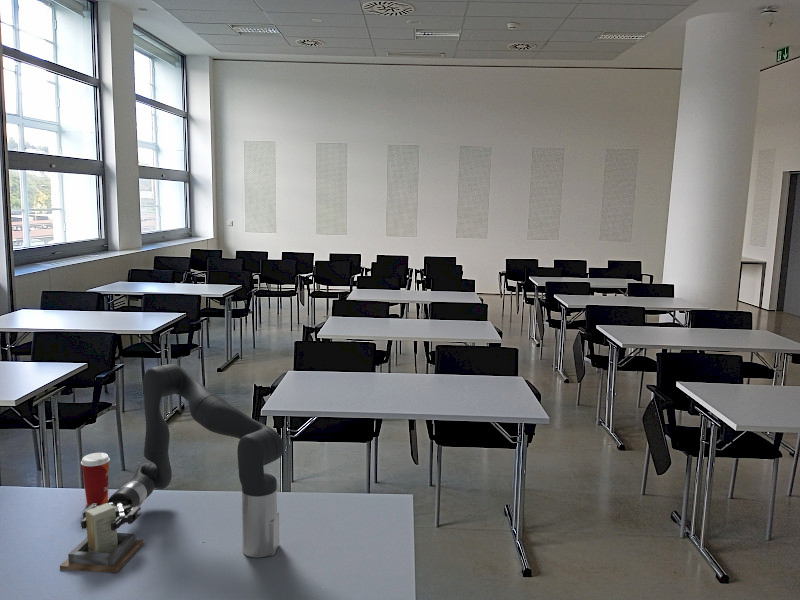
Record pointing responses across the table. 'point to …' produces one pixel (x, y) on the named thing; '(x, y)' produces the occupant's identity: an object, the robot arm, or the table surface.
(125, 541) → the socket stand
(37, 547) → the table surface
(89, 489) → the coffee cup
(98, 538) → the skincare box
